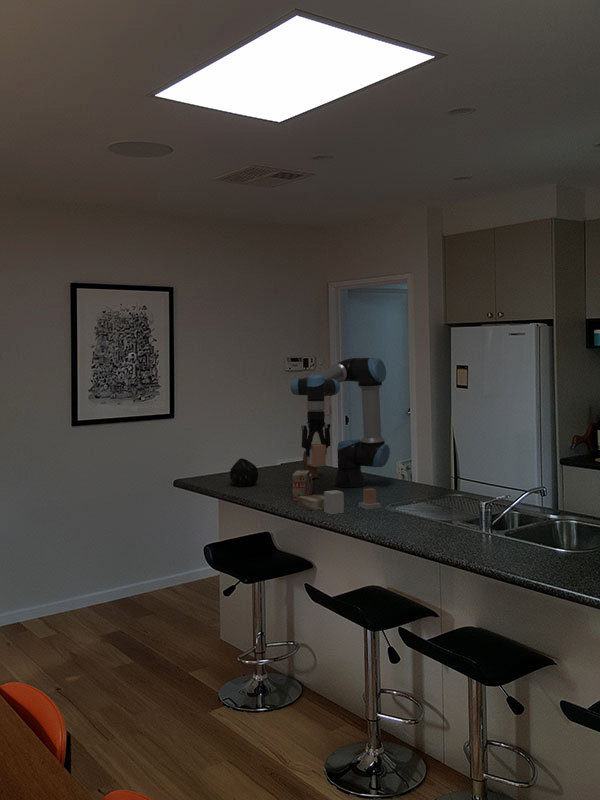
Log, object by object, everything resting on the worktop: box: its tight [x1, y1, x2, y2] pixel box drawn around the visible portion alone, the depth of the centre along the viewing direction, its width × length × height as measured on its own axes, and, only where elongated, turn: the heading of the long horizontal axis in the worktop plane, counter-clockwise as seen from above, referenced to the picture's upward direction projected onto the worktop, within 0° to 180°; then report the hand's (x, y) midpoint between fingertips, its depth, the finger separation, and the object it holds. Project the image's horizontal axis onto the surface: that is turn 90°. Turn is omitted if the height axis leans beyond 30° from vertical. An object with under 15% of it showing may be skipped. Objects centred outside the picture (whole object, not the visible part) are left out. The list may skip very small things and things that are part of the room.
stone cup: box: [298, 449, 320, 479], centre depth 409 cm, size 15×12×15 cm
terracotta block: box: [307, 443, 327, 467], centre depth 331 cm, size 6×6×9 cm
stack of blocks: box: [291, 469, 314, 502], centre depth 356 cm, size 21×6×12 cm, turn 170°
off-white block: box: [323, 489, 345, 515], centre depth 319 cm, size 6×6×9 cm
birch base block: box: [296, 493, 324, 511], centre depth 332 cm, size 12×12×4 cm
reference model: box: [358, 487, 382, 511], centre depth 329 cm, size 7×7×8 cm
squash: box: [229, 458, 259, 487], centre depth 387 cm, size 14×15×15 cm
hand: (316, 463), depth 332 cm, fingers closed on terracotta block, 6 cm apart
